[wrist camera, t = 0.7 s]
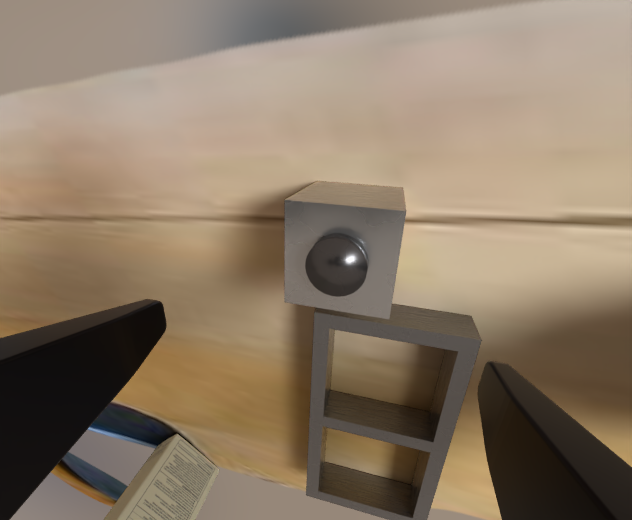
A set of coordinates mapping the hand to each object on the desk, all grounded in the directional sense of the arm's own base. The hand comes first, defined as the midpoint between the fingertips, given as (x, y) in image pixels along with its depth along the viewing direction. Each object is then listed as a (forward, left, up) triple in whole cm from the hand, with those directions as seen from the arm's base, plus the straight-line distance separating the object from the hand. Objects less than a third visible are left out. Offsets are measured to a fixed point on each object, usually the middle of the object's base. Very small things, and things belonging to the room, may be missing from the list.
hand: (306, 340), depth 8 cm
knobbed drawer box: (0, 0, -12) cm, 12 cm away
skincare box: (+15, +27, -12) cm, 33 cm away
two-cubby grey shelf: (-3, +14, -12) cm, 18 cm away
